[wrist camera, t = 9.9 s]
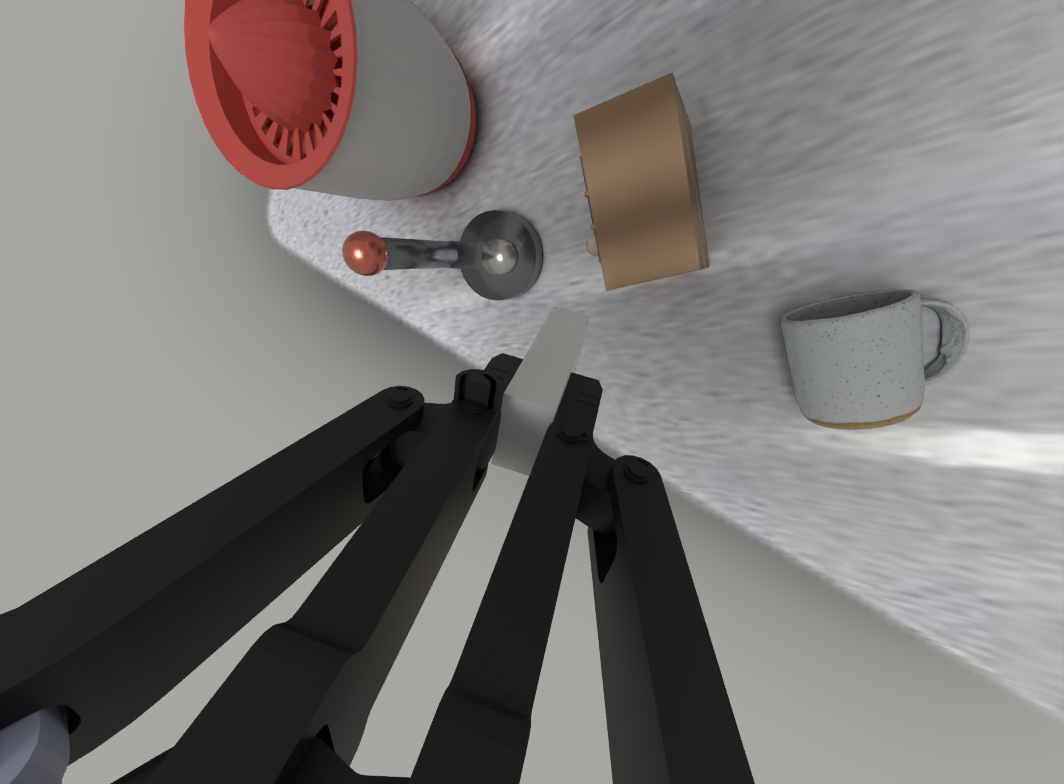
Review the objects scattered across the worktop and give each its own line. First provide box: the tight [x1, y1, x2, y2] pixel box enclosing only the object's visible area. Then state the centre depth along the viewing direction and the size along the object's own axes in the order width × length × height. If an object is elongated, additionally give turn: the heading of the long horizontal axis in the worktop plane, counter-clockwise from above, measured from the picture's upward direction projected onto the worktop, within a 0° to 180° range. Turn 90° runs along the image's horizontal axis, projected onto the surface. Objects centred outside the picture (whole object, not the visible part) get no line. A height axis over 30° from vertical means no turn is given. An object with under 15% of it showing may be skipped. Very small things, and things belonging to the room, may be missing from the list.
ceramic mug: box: [780, 290, 968, 430], centre depth 29 cm, size 11×8×8 cm
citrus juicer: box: [184, 0, 476, 200], centre depth 33 cm, size 16×17×20 cm
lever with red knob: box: [342, 210, 542, 300], centre depth 36 cm, size 10×8×15 cm
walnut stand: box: [574, 73, 709, 291], centre depth 31 cm, size 11×8×10 cm
